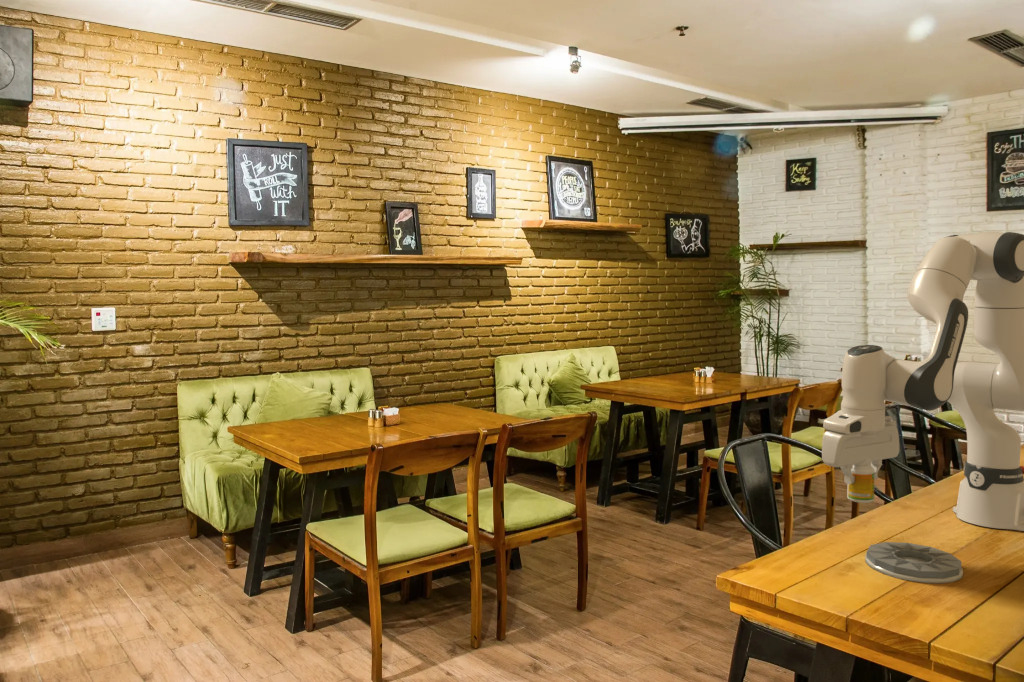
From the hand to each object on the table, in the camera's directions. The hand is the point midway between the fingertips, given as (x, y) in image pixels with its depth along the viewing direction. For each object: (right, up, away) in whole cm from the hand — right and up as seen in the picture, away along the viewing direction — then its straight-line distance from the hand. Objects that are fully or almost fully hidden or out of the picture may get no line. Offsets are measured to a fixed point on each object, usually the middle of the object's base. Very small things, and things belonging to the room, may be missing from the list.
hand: (860, 481), depth 172 cm
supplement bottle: (0, -4, 0) cm, 4 cm away
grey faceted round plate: (+6, -16, -10) cm, 20 cm away
